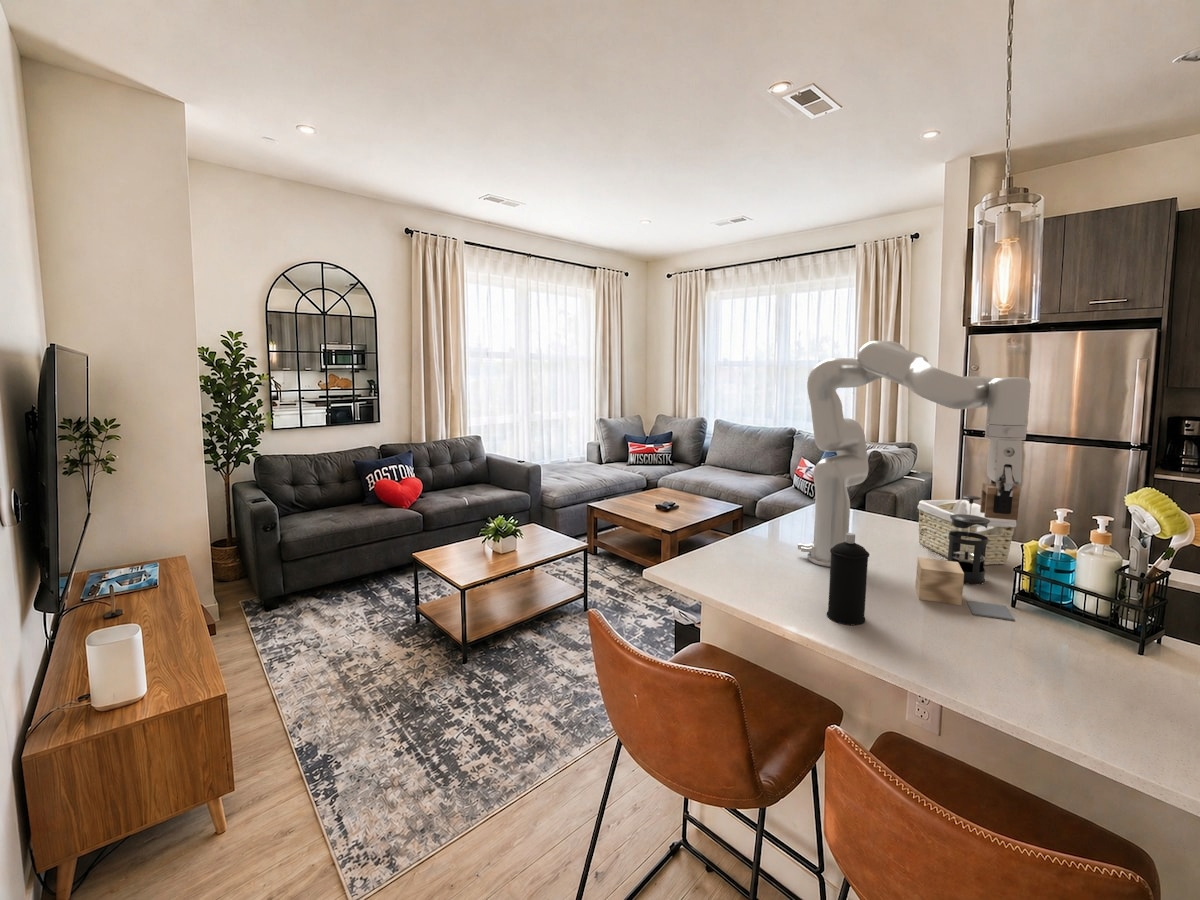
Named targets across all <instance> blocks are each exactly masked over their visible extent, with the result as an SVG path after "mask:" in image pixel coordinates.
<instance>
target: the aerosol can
mask: <svg viewBox="0 0 1200 900" xmlns="http://www.w3.org/2000/svg"><path fill="white" fill-rule="evenodd" d="M830 552H831V565H830V567H829V568H830V569H829V585H828V586H829V587H828V588H829V589H828V603H827V604H828V606H827V607H828V608H827V612H826V616H827V618H829V619H830V620H831V621H832V622H835V623H838V624H840V625H841V624H842V625H846V626H860V625H863V624H865V622H866V617H865V611H866V598H867V597H866V596H867V595H866V594H867V580H868V563H869V558H870V553H869V551H867V550H866V548H865V547H864V546H862V545H860V544H859V543H856V533H851V532H849V533H846V541H845V542H842V543H838V544H836V545H835V546H834V547H833V548H831V549H830Z"/></svg>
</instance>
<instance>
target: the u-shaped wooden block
mask: <svg viewBox="0 0 1200 900" xmlns="http://www.w3.org/2000/svg"><path fill="white" fill-rule="evenodd" d="M981 485H982V486H981V495H980V498H981V499H980V504H979V505H980V512H981V513H985V514H984V517H985V518H996V519H1008V520H1016V521H1018V515H1019V506H1020V495H1021V489H1020V488H1019V487H1017V486H1016V484H1013V486H1012V489H1013V490H1012V493H1013V494H1012V507H1011V514H1001V513H994V512H993V508H994V497H995V495H997V494H996V484H995V483H990V482H982V483H981ZM1002 486H1003V485H1000V490H1001V487H1002Z"/></svg>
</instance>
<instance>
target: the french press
mask: <svg viewBox="0 0 1200 900" xmlns="http://www.w3.org/2000/svg"><path fill="white" fill-rule="evenodd" d="M961 497H962V498H963V499H965V500H968V501H969V503H970V512H969V515H965V514H955V515H951V516H950V518H951V519H952V523H951V524H952V525H953V526H955V527H958V528H968V532H964V531H958V530H951V532H950V533H949V536H948V539H949V550H948V558H947V561H953V562H958V563H959V565H960V567H961V569H962V571H963V572H964V582H963V585H964V584H965V585H972V584H979V585H983V584H985V583H986V579H985V578H986V577H985V576H986V568H985V565H984V562H985V551H986V545H987V544H988V538H987V537H986V536H984V535H981V534H977V533H972V532H969V530H970V526H972V525H976V524H978V525H982V526H984V527H985V528H987V525H988V523H990V520H989V519H986V518H983V517H979V516H974V515H971V508H972V504H973V503H974V502H975V501H978V500H979V501H981V496H977V495H962V496H961ZM961 536H967V540H965V539H961ZM969 537H973V538H978V539H981V541H972V540H969ZM961 544H965V545H967V546H966V551H960V545H961ZM968 545H973V546H974V553H972V552H968ZM984 582H985V583H984ZM982 583H983V584H982Z"/></svg>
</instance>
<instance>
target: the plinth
mask: <svg viewBox="0 0 1200 900" xmlns="http://www.w3.org/2000/svg"><path fill="white" fill-rule="evenodd" d="M963 582H964V572H963V571H962V569H961V567H960V565H959V563H958V562H953V561H948V560H944V559H943V560H942V559H934V558H927V557H919V556H917V560H916V576H915V591H916V594H917V597H918V600H922V601H929V602H935V603H936V602H937V603H941V604H942V603H943V604H950V605H957V606H962V602H963V592H964V583H963Z"/></svg>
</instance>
